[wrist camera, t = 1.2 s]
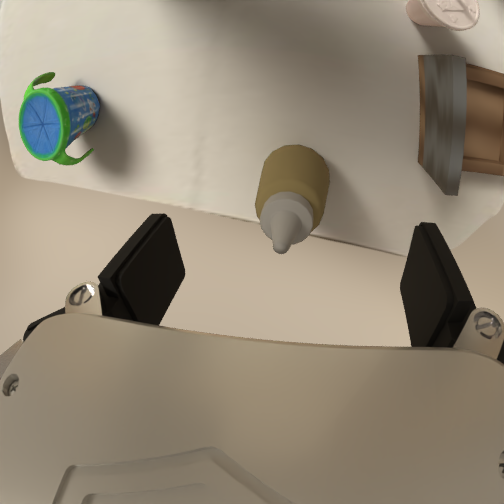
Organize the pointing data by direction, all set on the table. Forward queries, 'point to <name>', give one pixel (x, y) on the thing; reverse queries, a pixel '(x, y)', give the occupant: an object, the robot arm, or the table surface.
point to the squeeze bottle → (291, 195)
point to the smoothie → (444, 13)
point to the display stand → (459, 120)
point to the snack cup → (56, 119)
